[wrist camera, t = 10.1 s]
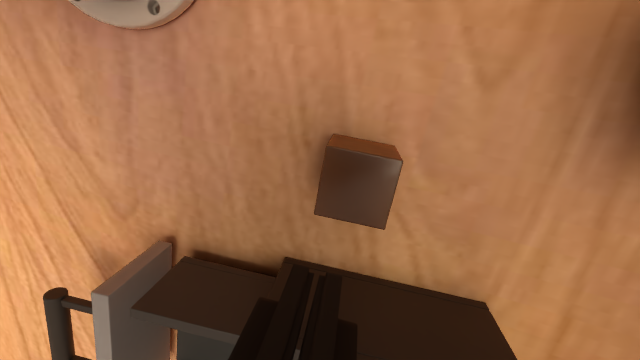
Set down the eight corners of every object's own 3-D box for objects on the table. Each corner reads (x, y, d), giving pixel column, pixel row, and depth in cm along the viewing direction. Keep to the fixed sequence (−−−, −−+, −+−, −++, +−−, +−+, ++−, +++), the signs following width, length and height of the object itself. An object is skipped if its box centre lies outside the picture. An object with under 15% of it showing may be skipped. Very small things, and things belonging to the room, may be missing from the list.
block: (322, 190, 23) (313, 214, 19) (333, 133, 22) (326, 145, 17) (380, 203, 23) (384, 230, 19) (395, 145, 21) (403, 160, 17)
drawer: (105, 343, 30) (35, 414, 24) (96, 225, 26) (8, 271, 19) (311, 398, 29) (297, 489, 22) (338, 282, 24) (330, 352, 18)
